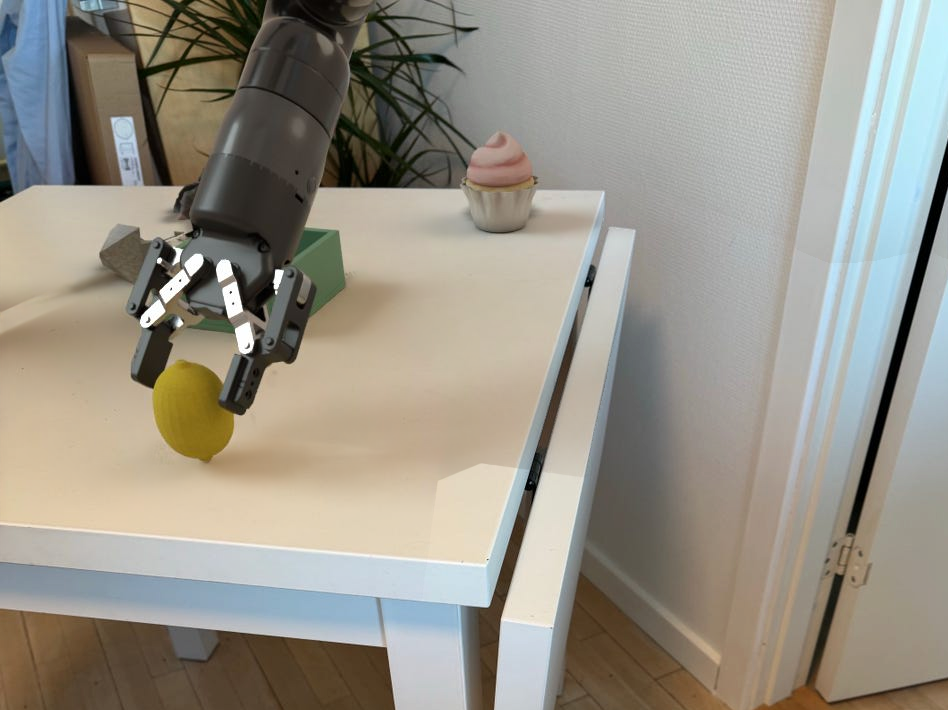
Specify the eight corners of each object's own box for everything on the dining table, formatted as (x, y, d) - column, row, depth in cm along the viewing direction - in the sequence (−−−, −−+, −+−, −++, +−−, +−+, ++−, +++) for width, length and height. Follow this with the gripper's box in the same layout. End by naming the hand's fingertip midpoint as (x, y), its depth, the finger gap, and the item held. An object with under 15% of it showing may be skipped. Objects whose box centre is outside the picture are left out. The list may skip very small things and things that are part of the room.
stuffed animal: (166, 235, 103) (157, 147, 106) (187, 288, 113) (178, 206, 115) (270, 225, 104) (258, 138, 107) (282, 278, 114) (271, 197, 117)
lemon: (250, 442, 70) (229, 343, 65) (233, 480, 66) (209, 378, 61) (180, 442, 70) (153, 343, 65) (159, 480, 66) (128, 378, 61)
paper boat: (110, 249, 101) (186, 217, 100) (135, 305, 102) (210, 274, 101) (66, 219, 89) (153, 183, 88) (96, 283, 90) (181, 248, 90)
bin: (159, 323, 88) (143, 265, 84) (231, 274, 97) (220, 219, 93) (284, 339, 84) (273, 279, 81) (346, 286, 94) (339, 230, 90)
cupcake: (450, 235, 105) (446, 139, 98) (474, 210, 111) (471, 118, 105) (528, 241, 103) (529, 143, 96) (548, 215, 109) (550, 122, 102)
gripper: (151, 138, 63) (75, 357, 64) (311, 161, 58) (226, 401, 58) (220, 198, 70) (151, 395, 71) (369, 224, 65) (293, 438, 65)
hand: (185, 397), depth 64 cm, fingers open, 8 cm apart
